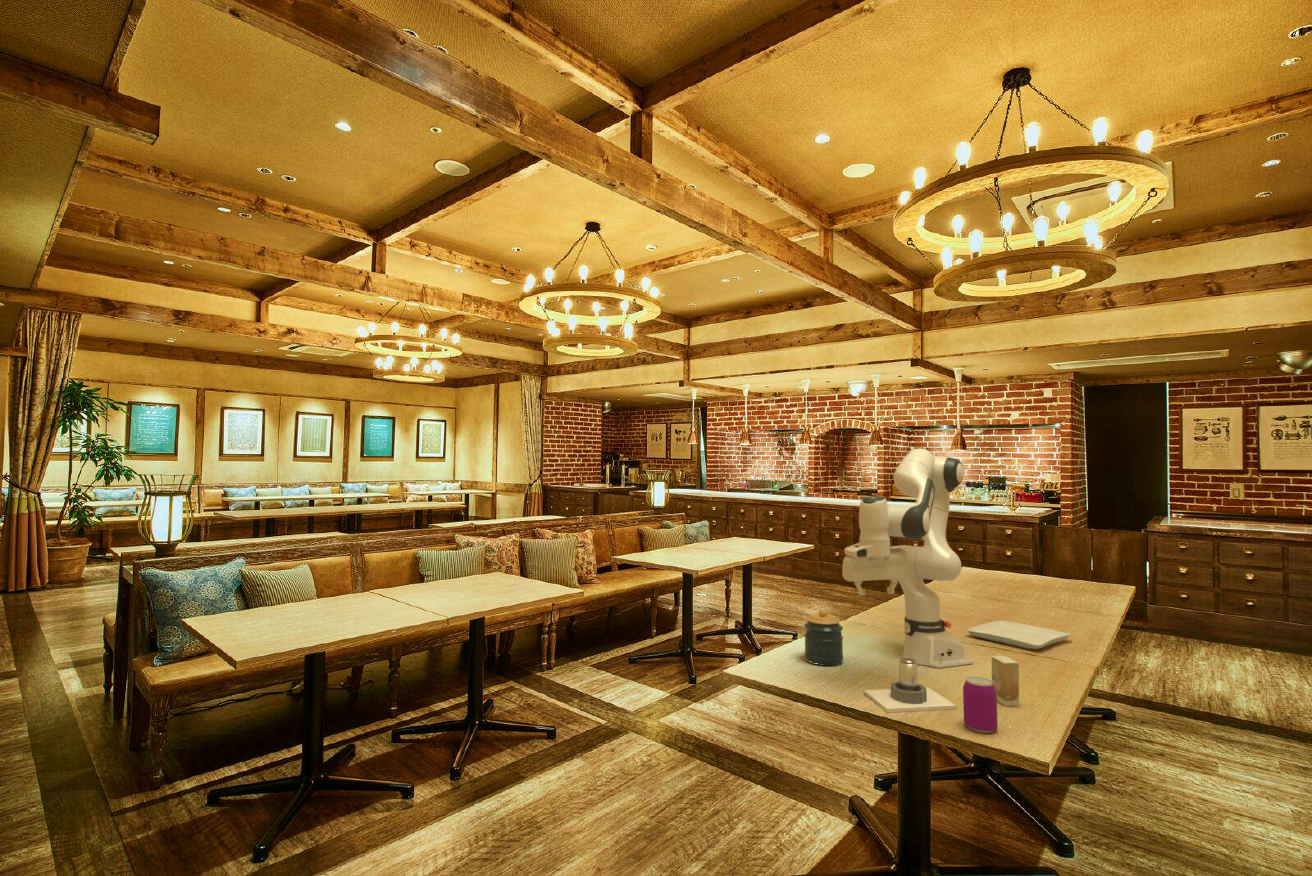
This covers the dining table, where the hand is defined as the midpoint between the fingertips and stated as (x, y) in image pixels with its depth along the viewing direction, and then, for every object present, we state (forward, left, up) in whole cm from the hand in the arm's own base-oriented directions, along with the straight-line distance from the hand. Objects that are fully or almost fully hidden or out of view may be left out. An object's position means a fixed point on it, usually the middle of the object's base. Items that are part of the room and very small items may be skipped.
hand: (876, 594), depth 187 cm
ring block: (-3, +12, -28) cm, 31 cm away
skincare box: (-30, +16, -28) cm, 44 cm away
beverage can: (-12, +31, -28) cm, 44 cm away
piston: (-3, +12, -27) cm, 30 cm away
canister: (+7, -26, -28) cm, 39 cm away
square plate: (-78, -42, -29) cm, 93 cm away
